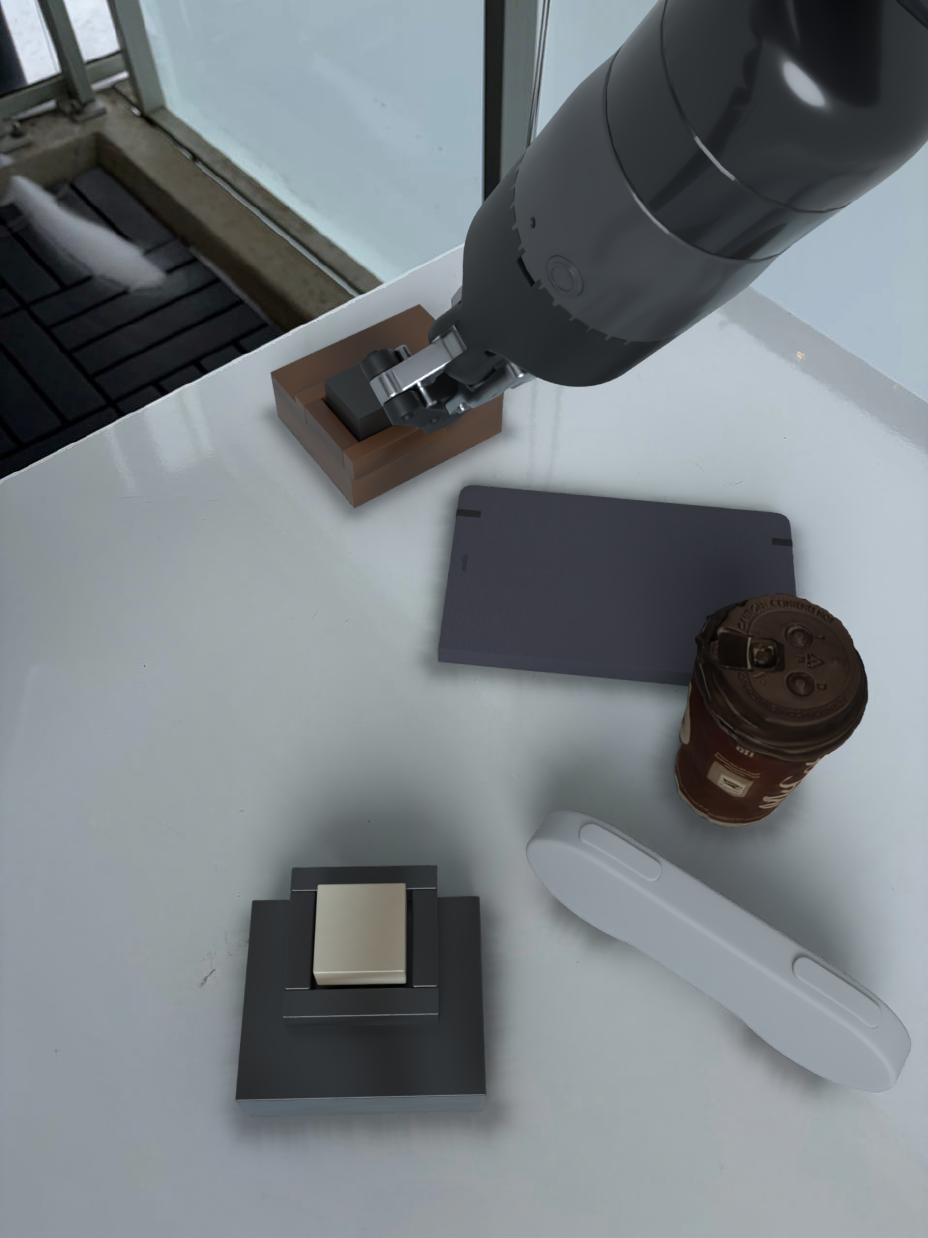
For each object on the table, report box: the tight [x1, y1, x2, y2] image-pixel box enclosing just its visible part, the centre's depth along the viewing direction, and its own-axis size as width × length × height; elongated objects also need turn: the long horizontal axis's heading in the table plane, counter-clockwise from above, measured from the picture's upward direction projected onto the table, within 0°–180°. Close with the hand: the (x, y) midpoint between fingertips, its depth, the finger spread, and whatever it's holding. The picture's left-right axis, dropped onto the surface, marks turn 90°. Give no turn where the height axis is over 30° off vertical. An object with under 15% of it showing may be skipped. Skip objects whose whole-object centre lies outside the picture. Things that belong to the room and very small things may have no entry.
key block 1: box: [269, 303, 505, 509], centre depth 72 cm, size 12×11×6 cm
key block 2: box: [234, 864, 487, 1118], centre depth 51 cm, size 11×10×6 cm
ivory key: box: [313, 883, 407, 985], centre depth 49 cm, size 4×4×2 cm
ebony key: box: [324, 363, 393, 442], centre depth 67 cm, size 4×4×2 cm
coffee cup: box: [673, 593, 869, 828], centre depth 55 cm, size 9×8×13 cm
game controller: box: [525, 809, 912, 1094], centre depth 51 cm, size 20×2×8 cm, turn 55°
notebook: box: [437, 484, 797, 687], centre depth 67 cm, size 13×2×21 cm
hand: (426, 409), depth 49 cm, fingers closed
